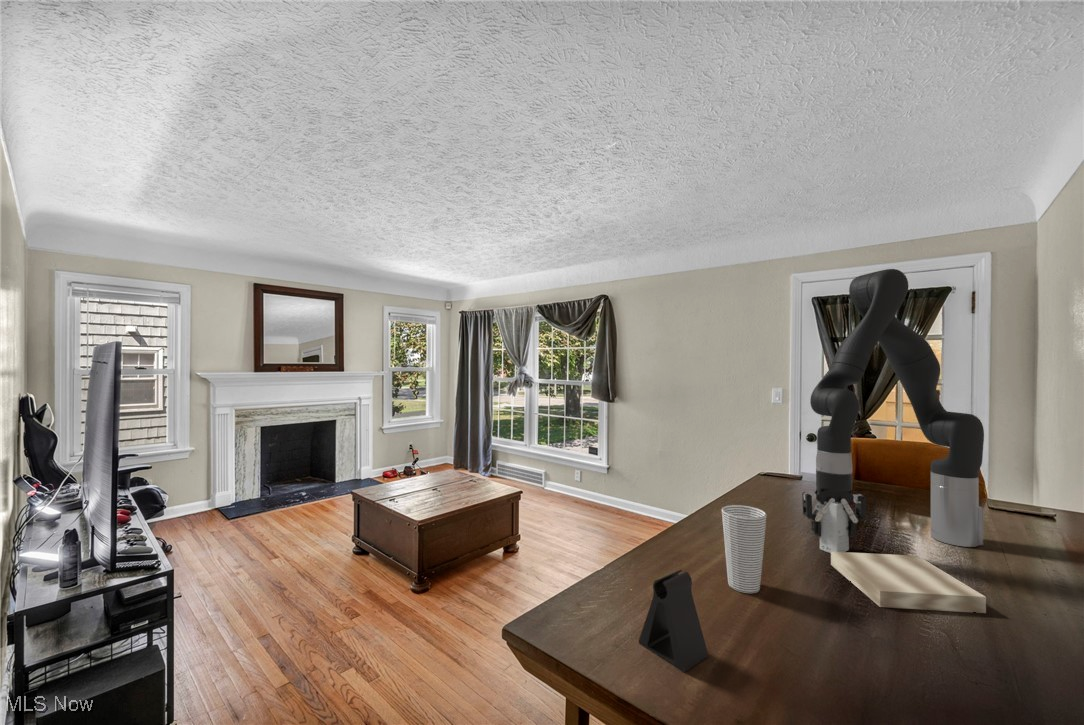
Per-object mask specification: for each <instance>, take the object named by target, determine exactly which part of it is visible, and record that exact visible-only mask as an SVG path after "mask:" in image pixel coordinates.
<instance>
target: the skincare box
mask: <svg viewBox="0 0 1084 725" xmlns="http://www.w3.org/2000/svg"><path fill="white" fill-rule="evenodd" d="M825 503H826V502H824V504H825ZM823 506H824V505H822V504H821V503H820V502H819V508H820V509H821V508H822V507H823ZM827 507H828V511H827V513H826V514H825V515H823V517H822V518H821V520H820V522H821V537H819V550H821V551H824V552H826V553H829V554H831V552H847V551H850V550H849V549H850V542H849V541H850V537H849V530H848V515H847V514H846V510H844V509H843V505H842V503H840V502H834V503H829V504H828V506H827Z"/></svg>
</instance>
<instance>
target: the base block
mask: <svg viewBox="0 0 1084 725" xmlns="http://www.w3.org/2000/svg"><path fill="white" fill-rule="evenodd" d="M830 565H831V566H832V567H833V568H834V569H835V570H836V571H837V572H839V573H840V574H841V575H842V576H843V577H845V578H846V579H847V580H848V581H849V582H850V581H851V582H850V583H852V584H853V585H854V586H855V587H857V588H858V590H860V591H861V592H862V593H863V594H864V595H865V596H867V597H868V598H869V599H870V600H871V601H873V603H875V604H876V605H877V606H878V607H880V608H893V609H909V610H910V609H911V610H925V611H927V610H928V611H940V612H941V611H944V612H957V613H973V612H976V614H986V613H987V597H986V596H985V595H984V594H982V593H980V592H979V591H977V590H975V589H973V588H972V587H970V586H968V585H967V584H965V583H964V582H961V581H960V580H959V579H956V578H955V577H953V576H952V575H951V574H948V573H947V572H945V571H943V570H942V569H940V568H938V567H937V566H935V565H933V564H932V563H930V562H929V561H928V560H925V559H923V557H920V556H918V555H914V554H913V555H911V554H909V555H908V554H888V553H871V552H870V553H867V552H850V551H849V552H847V551H846V552H831V553H830Z"/></svg>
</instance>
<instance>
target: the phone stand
mask: <svg viewBox="0 0 1084 725" xmlns="http://www.w3.org/2000/svg"><path fill="white" fill-rule="evenodd" d="M681 572H682V573H681ZM679 573H680V574H679ZM692 586H693V581H692V577H691V575H690V573H689V572H688V571H684V572H683V569H682V568H681V569H678V570H676V571H673V572H671V573H670V574H667V575H664V576H663V577H660V578H657V579H656V580H654V581H653V583H652V589H653V594H652V595H653V596H652V600H651V603H650V606H649V609H648V613H647V615H646V617H645V621H644V624H643V626H642V630H641V633H640V635H639V638H638V643H639V645H641V646H642V647H644V648H645V649H646V650H648V651H650V652H651V653H653V655H656V656H657V657H658V658H661V659H662V660H663V661H665V662H667V663H668V664H670V665H671V666H673V667H674V668H676V669H677V670H678V671H681V673H685V672H688V671H689V670H690V669H692V668H693V667H695V666H697V665H698V664H699V663H701V662H703V661H704V660H706V659H707V658H708V657H709V653H708V649H707V645H706V642H705V641H706V640H705V638H704V633H703V631H702V630H703V629H702V627H701V622H700V618H699V615H698V612H697V608H696V607H697V606H696V604H695V602H694V601H695V600H694V597H693V592H692Z"/></svg>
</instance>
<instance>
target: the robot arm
mask: <svg viewBox="0 0 1084 725" xmlns="http://www.w3.org/2000/svg"><path fill="white" fill-rule="evenodd" d="M848 290H849V291H848V292H849V298H850V300H851V302H852V304H853V306H854V307H855V309H856V310H857V311H858V313H859V315H860V316H861V317H862V319H860V320H861V321H859V323H858V324H857V325H856V326H855V327H854V329H852V331H851V332H849V334H847V336H846V337H845V338H844V339H843V340H842V342H841V343H840V344H839V346H838V348H837V351H836V353H835V356H834V357H833V360H832V362H831V365H830V367H829V370H828V371H827V372H826V373H825V374H824V375H823V376H822V379H821V380H820V381H819V382H818V383H817V385H815V387H814V389H813V390H812V393H811V394H810V399H809V400H810V402H809V403H810V407H811V409H812V411H813V412H814V413H816V414H817V415H820V416H826V417H831V418H830V422H829V424H828V425H824V426H820V427H819V428H818V429H817V435H816V436H817V437H816V439H817V441H816V442H817V443H816V444H817V446H816V448H817V449H816V456H815V467H816V468H815V487H816V489H815V491H814V492H806V491H803V492H802V493H801V497H802V498H801V500H802V501H801V502H802V515H803V516H805V517H806V518H808V519H809V520H811V532H812V533H813V534H814V536H816V537H818V538H820V537H821V522H820V520H821V518H822V517H823V515H825V514H826V513H827V511H828V507H827V506H828V504H829V503H834V502H840V503H842V505H843V509H844V510H846V514H847V515H848V530H849V539H850V538H851V539H855V536H857V533H858V531H857V530H858V528H857V527H858V526H857V523H858V522H860V521H866V518H867V501H868V500H867V497H866V496H865V495H863V494H861V493H856V494H853V492H852V491H853V458H852V433H853V431H854V429H855V425H856V421H857V419H858V415H859V411H860V402H859V398H858V396H857V395H856V394H855V392H854V391H852V390H850V389H847V387H848V386H851V385H855V384H858V383H859V382H860V381H861V380H862V378H863V376H864V374H865V371H866V369H867V366H868V364H869V362H870V360H871V357H872V355H873V352H874V350H875V348H876V346H877V344H878V343H879V345H880V347H881V349H882V350H883V352H884V354H885V356H886V358H887V360H888V362H889V364H890V366H891V368H892V371H893V372H894V374H895V375H896V377H897V379H898V380H899V383H901V386H902V388H903V391H904V392H905V394H906V396H907V398H908V399H909V402H910V405H911V407H912V409H913V412H914V414H915V418H916V421H917V422H918V425H919V428H920V431H921V432H922V434H923V435H924V436H923V437H925V438H926V439H927V440H928V442H930V443H932V444H934V445H937V446H940V447H941V446H942V447H946V448H949V449H948V455H947V456H946V457H945V458H939V459H934V460H932V461H931V462H930V537H931V538H932V539H934V540H937V541H938V542H942V543H945V544H948V545H952V546H959V547H966V548H975V547H978V546H984V508H983V507H982V506H980V504H979V503H980V500H979V498H980V497H979V496H980V495H979V485H980V484H979V480H980V479H979V477H980V476H979V473H980V470H981V467H982V464H983V456H984V453H983V452H984V442H985V430H984V426H983V423H982V421H981V420H980V418H979V417H978V416H977V415H974V414H971V413H964V412H955V411H947V410H946V409H945V408H944V407H943V405H942V403H941V401H940V399H939V397H938V394H937V386H938V383H939V380H940V375H941V363H940V362H939V360H938V357H937V356H936V354H935V352H934V350H933V349H932V347H931V345H930V344H929V342H928V341H927V340H926V339H925V338H924V337H923V336H921V335H920V334H919V333H917V332H916V331H914V330H913V329H912V328H910V327H909V326H908V325H906V324H905V323H903V322H902V321H901V320H900V319H898V318H897V316H895V315H896V313H897V312H898V310H899V308H900V307H901V306H902V304H903V302H904V301H905V299H906V296H908V295H907V294H908V292H909V280H908V278H907V276H906V274H905V273H904V272H903V271H901V270H899V269H896V268H887V269H882V270H878V271H873V272H869V273H864V274H861V275H859V276H856V277H854V278H853V279H852V281H850V284H849V289H848ZM815 499H816V500H817V502H816V504H815V505H814V507H813V503H814V502H815ZM819 502H820V503H821V504H822V505H824V506H823V507H822V508H821V509H820V508H819ZM824 502H826V503H825V504H824ZM852 502H854V503H855V505H854V511H853V509H852V508H851V506H850V504H851V503H852Z"/></svg>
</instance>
